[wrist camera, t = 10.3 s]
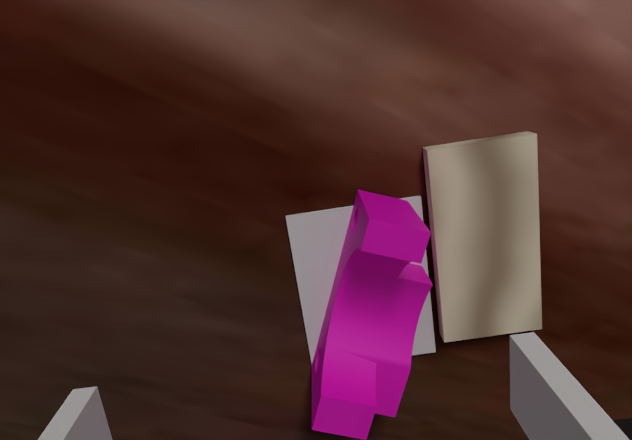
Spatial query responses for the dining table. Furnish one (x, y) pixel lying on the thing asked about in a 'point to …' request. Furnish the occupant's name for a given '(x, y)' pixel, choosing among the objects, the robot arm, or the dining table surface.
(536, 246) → the board
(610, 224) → the dining table surface
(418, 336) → the mat
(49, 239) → the dining table surface
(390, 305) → the toy block
